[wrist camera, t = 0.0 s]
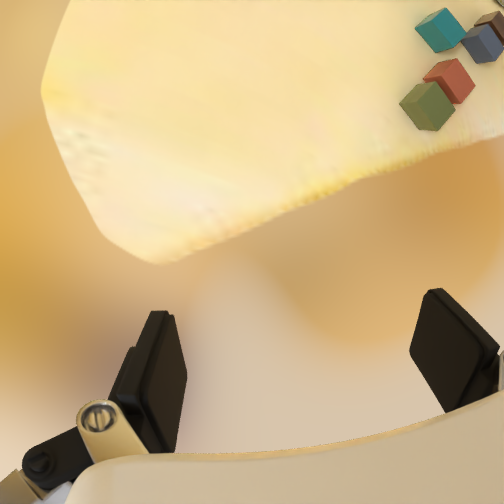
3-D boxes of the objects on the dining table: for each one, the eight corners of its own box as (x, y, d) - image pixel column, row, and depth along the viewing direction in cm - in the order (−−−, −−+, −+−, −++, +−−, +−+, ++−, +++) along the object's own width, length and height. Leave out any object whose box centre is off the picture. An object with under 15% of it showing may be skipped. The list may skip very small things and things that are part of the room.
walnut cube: (482, 15, 27) (499, 10, 22) (498, 37, 28) (515, 34, 24) (473, 25, 28) (491, 20, 24) (489, 48, 30) (507, 45, 25)
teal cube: (414, 28, 30) (431, 20, 26) (429, 15, 29) (446, 7, 24) (435, 53, 32) (453, 47, 27) (449, 39, 30) (467, 33, 26)
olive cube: (417, 84, 34) (435, 81, 29) (436, 110, 35) (456, 110, 30) (398, 103, 35) (416, 101, 30) (419, 130, 36) (437, 131, 32)
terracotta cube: (438, 62, 32) (457, 58, 27) (456, 87, 33) (475, 85, 29) (422, 78, 33) (441, 75, 29) (441, 104, 35) (461, 104, 30)
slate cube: (470, 28, 29) (488, 23, 24) (486, 51, 30) (504, 48, 25) (459, 40, 30) (477, 35, 25) (476, 64, 31) (495, 61, 27)
